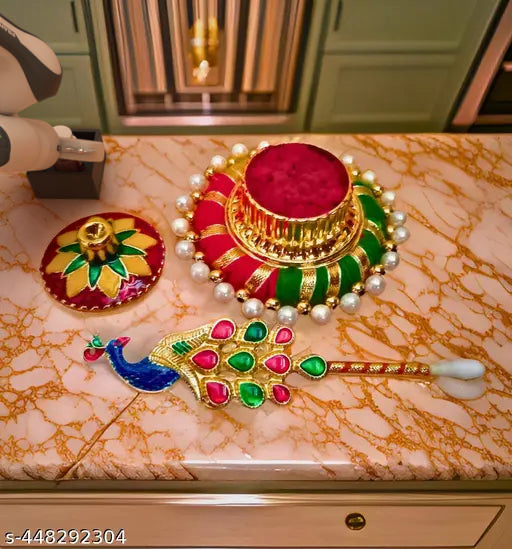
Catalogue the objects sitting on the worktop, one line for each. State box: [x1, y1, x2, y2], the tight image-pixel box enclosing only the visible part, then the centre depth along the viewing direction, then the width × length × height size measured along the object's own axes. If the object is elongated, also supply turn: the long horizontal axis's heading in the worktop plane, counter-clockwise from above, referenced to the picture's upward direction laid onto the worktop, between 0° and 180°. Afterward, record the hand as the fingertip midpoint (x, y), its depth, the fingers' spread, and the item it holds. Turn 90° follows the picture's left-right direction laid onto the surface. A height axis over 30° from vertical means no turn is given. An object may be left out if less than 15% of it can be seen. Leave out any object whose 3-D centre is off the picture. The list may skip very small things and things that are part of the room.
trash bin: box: [25, 128, 107, 200], centre depth 118 cm, size 13×13×7 cm
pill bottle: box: [52, 125, 87, 172], centre depth 115 cm, size 6×6×11 cm
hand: (63, 145), depth 114 cm, fingers open, 8 cm apart
